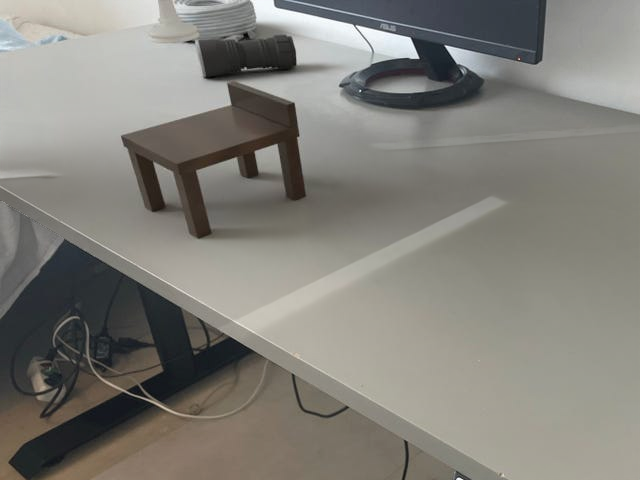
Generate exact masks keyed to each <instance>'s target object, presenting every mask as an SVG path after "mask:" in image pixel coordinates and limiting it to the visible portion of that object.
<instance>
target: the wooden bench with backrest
mask: <svg viewBox="0 0 640 480" xmlns="http://www.w3.org/2000/svg"><path fill="white" fill-rule="evenodd" d="M226 87H227V91H228V95H229V100H230V104H229V105H226V106H223V107H219V108H216V109H211V110H208V111H204V112H201V113H198V114H194V115H190V116H186V117H182V118H178V119H175V120H171V121H167V122H164V123H161V124H157V125H154V126H150V127H147V128H143V129H139V130H136V131H132V132H129V133H125V134H121V135H120V138H121V142H122V145H123V147H124V148H126V149H127V152H128V156H129V158H130V162H131V165H132V168H133V172H134V176H135V179H136V182H137V185H138V189H139V192H140V194H141V198H142V202H143V205H144V208H145V209H147V210H148V211H150V212H152V213H153V212H157V211H159V210H162V209H164V208H166V203H165V199H164V196H163V192H162V188H161V184H160V181H159V178H158V174H157V171H156V167H155V164H157V165H159V166H160V167H162V168H164V169H166V170H168V171H170V172H172V174H173V177H174V181H175V185H176V188H177V192H178V195H179V196H178V197H179V199H180V203H181V206H182V211H183V214H184V218H185V222H186V226H187V228H188V229H187V230H188V233H189V235H191V236H193V237H195V238H196V239H201V238H203V237H205V236H207V235H211V234H212V229H211V226H210V222H209V217H208V213H207V210H206V209H207V208H206V205H205V201H204V197H203V193H202V192H203V191H202V188H201V184H200V180H199V176H198V171H199V170H202V169H205V168H208V167H211V166H214V165H217V164H220V163H223V162H227V161H229V160H232V159H236V160H237V161H236V162H237V165H238V170H239V174H240V175H241V176H243V177H244V178H247V179H250V178H252V177H255V176H259V175H260V172H259V167H258V162H257V157H256V152H257V151H260V150H263V149H266V148H269V147H272V146H275V145H277V150H278V156H279V162H280V169H281V174H282V179H283V186H284V191H285V196H286V197H287V198H289V199H291V200H292V201H297V200H299V199H302V198H304V197H307V192H306V187H305V179H304V173H303V167H302V160H301V159H302V158H301V154H300V147H299V141H298V138H300V131H299V130H300V128H299V122H298V116H297V109H296V103H295V102H294V101H291V100H288V99H286V98H283V97H280V96H277V95H274V94H272V93H269V92H267V91H263V90H260V89H259V88H258V89H257V88H255V87H253V86H249V85H246V84H244V83H241V82H239V81H235V80H233V81H229V82H226Z"/></svg>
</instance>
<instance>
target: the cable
mask: <svg viewBox="0 0 640 480" xmlns="http://www.w3.org/2000/svg"><path fill="white" fill-rule="evenodd" d="M172 1H173V4H174V7H175V10H176V12H177V14H178V17H181V18H182V20H181V22H185V23H189V24H192V25H194V26H196V27H197V32H198V33H199V36H198V37H197V38H195V39H193V40H190V42H195V40H208V39H217V40H223V41H225V40H229V39H230V40H232V39H234V40H235V42H239V43H240V41H239V40H242V39H243V38H245V36H244V35H245V34H247V35H248V38H249V39H250V40H253V38H255V36H256V34H255V32H254V31H253V30H255V29H256V26H257V25H256V24H257V14H256V12H255V11H256V10H255V6H254V3H253V2H252V1H251V0H172Z"/></svg>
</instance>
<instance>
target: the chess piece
mask: <svg viewBox="0 0 640 480" xmlns="http://www.w3.org/2000/svg"><path fill="white" fill-rule="evenodd" d="M157 3H158V11H159V12H158V13H159V18H158V19H157V22H158V24H154V25H153V26H151V27H149V28H148V29H147V31H146V34H147V40H148V41H149V42H151V43H156V44H177V43H178V44H179V43H185V42H189V41H190V40H193V39H195V38H197V37H198V36H199V33H198V32H197V27H196V26H194V25H192V24H189V23H185V22H181V20H182V18H181V17H178V14H177V12H176V10H175V7H174V4H173V1H172V0H157ZM190 42H191V41H190Z"/></svg>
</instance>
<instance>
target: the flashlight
mask: <svg viewBox="0 0 640 480" xmlns="http://www.w3.org/2000/svg"><path fill="white" fill-rule="evenodd" d="M194 44H195V48H196V55H197V59H198V64H199V68H200V72H201V75H202V76H201V77H202V78H207V77H208V78H209V77H210V78H211V77H219V76H224V75H227V74H229V73H231V74H234V73H241V72H242V70H244V69H246V70H252V69H253V70H254V69H270V68H271V69H279V70H288V69H289V70H290V69H292V68H293V67H296V66H297V63H298V61H297V60H298V59H297V51H296V50H297V49H296V47H295V43H294V39H293V37H292V36H291V35H286V34H276V35H275V34H274V35H273V36H272V37H266V38H257V39H250V40H241V42H240V41H239V42H235V40H234V39H232V40H230V39H229V40H225V41H223V40H217V39H208V40H195V41H194Z"/></svg>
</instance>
